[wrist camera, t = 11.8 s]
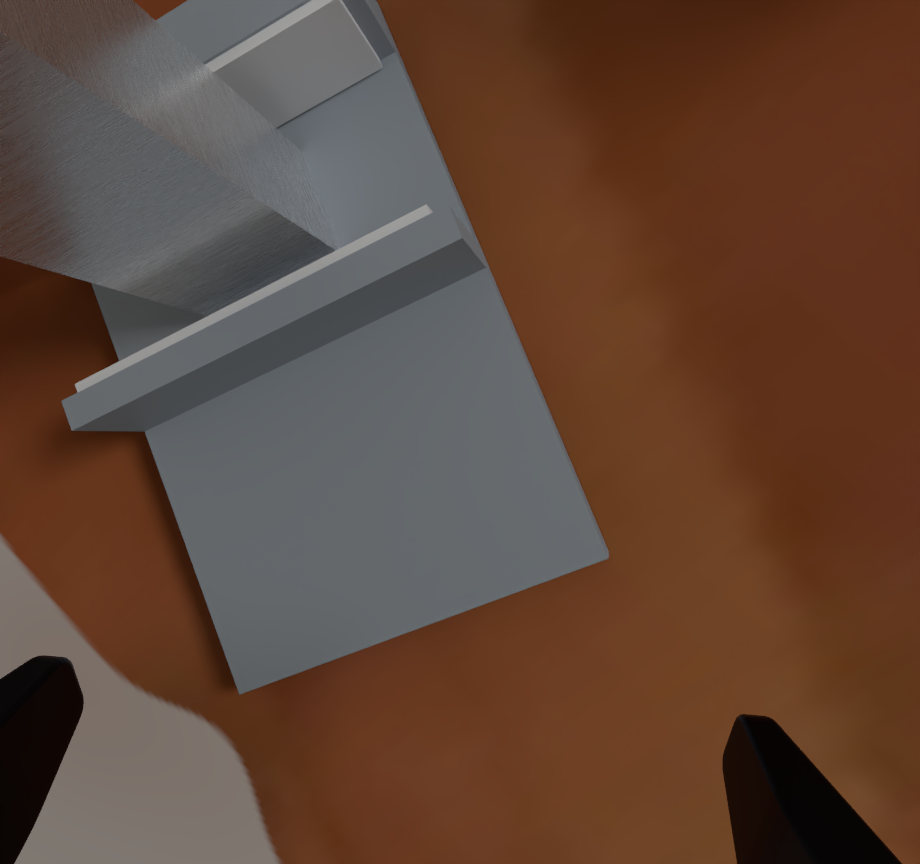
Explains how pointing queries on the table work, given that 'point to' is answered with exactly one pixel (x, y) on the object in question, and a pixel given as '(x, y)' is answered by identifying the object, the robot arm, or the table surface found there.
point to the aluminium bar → (143, 162)
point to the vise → (344, 377)
